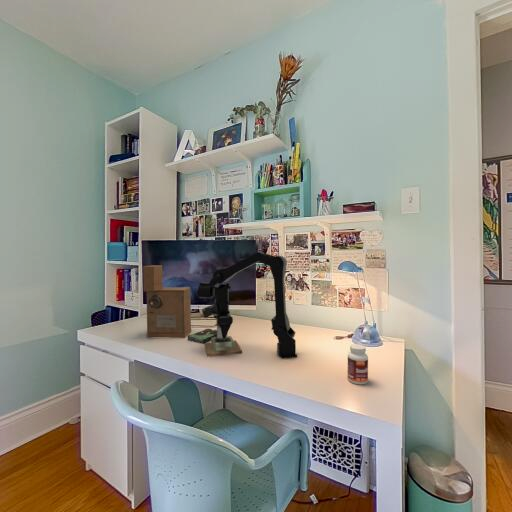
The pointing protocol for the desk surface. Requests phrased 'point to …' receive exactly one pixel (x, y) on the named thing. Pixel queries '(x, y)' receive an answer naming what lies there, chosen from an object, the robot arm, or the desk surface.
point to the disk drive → (203, 336)
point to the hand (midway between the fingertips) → (222, 335)
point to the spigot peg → (219, 335)
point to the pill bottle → (357, 364)
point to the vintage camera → (166, 306)
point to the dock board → (222, 347)
